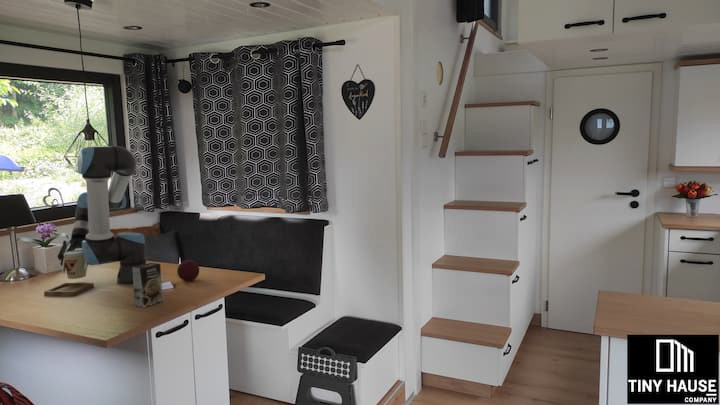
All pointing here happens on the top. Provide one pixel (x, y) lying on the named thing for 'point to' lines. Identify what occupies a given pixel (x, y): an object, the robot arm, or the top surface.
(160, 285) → the coffee box
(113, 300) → the top surface
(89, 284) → the coaster tray
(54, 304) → the top surface
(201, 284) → the top surface
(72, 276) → the coffee cup
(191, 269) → the decorative ball
